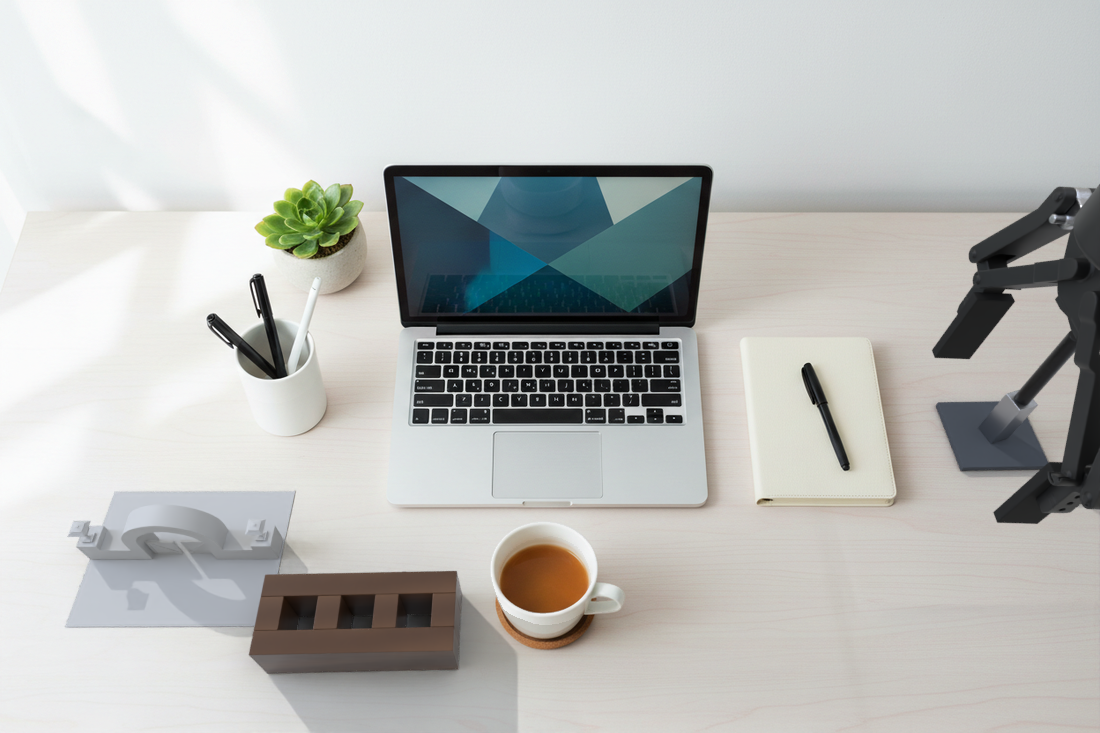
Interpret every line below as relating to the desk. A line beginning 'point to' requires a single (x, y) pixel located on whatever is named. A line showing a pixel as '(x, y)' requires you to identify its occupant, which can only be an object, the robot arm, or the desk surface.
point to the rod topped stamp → (1025, 394)
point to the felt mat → (975, 447)
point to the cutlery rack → (332, 630)
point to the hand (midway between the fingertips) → (980, 430)
